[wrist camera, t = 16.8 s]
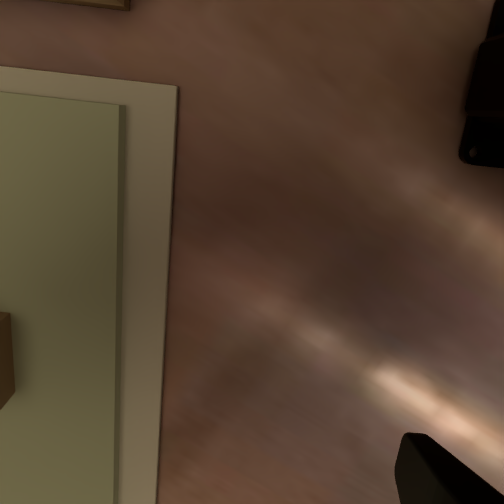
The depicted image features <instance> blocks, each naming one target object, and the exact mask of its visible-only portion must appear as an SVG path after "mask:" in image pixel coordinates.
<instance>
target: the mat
mask: <svg viewBox="0 0 504 504" xmlns="http://www.w3.org/2000/svg"><path fill="white" fill-rule="evenodd" d="M0 91H2V92H11V93H20V94H29V95H38V96H47V97H56V98H65V99H74V100H83V101H92V102H101V103H110V104H119V105H126V119H125V172H124V225H123V278H122V331H121V384H120V437H119V491H118V504H157V486H158V467H159V448H160V429H161V410H162V391H163V372H164V353H165V334H166V315H167V296H168V277H169V258H170V239H171V220H172V201H173V182H174V163H175V144H176V125H177V106H178V86H172V85H163V84H155V83H146V82H137V81H128V80H119V79H110V78H102V77H93V76H84V75H75V74H66V73H58V72H49V71H40V70H31V69H22V68H14V67H5V66H0Z"/></svg>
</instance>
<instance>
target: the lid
mask: <svg viewBox="0 0 504 504" xmlns="http://www.w3.org/2000/svg"><path fill="white" fill-rule="evenodd" d="M125 119H126V105H119V104H110V103H101V102H92V101H83V100H74V99H65V98H56V97H47V96H38V95H29V94H20V93H11V92H2V91H0V504H118V491H119V437H120V384H121V331H122V278H123V225H124V172H125Z"/></svg>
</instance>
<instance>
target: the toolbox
mask: <svg viewBox="0 0 504 504" xmlns="http://www.w3.org/2000/svg"><path fill="white" fill-rule="evenodd" d="M42 1H50V2H59V3H67V4H75V5H83V6H92V7H100V8H108V9H117V10H125V11H130V0H42Z"/></svg>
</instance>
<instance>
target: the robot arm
mask: <svg viewBox="0 0 504 504" xmlns="http://www.w3.org/2000/svg"><path fill="white" fill-rule="evenodd" d="M465 111H466V113H467V115H468V116H467V121H466V125H465V129H464V133H463V137H462V141H461V145H460V149H459V157H460V159H461V160H462V161H463V162H464V163H467V164H471V165H478V166H487V167H496V168H504V0H496V2H495V6H494V10H493V14H492V18H491V22H490V26H489V31H488V35H487V39H486V40H485V41H484V42H483V43H481V44H480V47H479V51H478V55H477V60H476V64H475V68H474V72H473V76H472V80H471V84H470V89H469V93H468V97H467V101H466V105H465ZM474 146H475V147H476V148H477V153H476V155H475V156H474V157H472V158H471V157H470V155H469V152H470V150H471V148H473V147H474ZM395 481H396V485H397V489H398V494H399V498H400V503H401V504H504V495H502V494H501V493H500V492H499V491H497V490H496V489H495V488H494V487H492V486H491V485H490V484H489V483H487V482H486V481H485V480H483V479H482V478H481V477H480V476H478V475H477V474H476V473H475V472H473V471H472V470H471V469H470V468H468V467H467V466H466V465H465V464H463V463H462V462H461V461H460V460H458V459H457V458H456V457H455V456H453V455H452V454H451V453H450V452H448V451H447V450H446V449H445V448H443V447H442V446H441V445H440V444H438V443H437V442H436V441H435V440H433V439H432V438H431V437H429V436H428V435H426V434H422V433H410V432H408V433H405V434H404V435H403V437H402V440H401V444H400V448H399V452H398V456H397V460H396V463H395Z"/></svg>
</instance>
